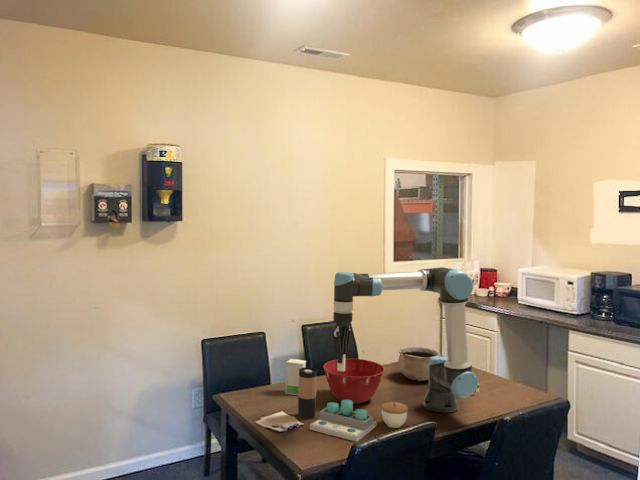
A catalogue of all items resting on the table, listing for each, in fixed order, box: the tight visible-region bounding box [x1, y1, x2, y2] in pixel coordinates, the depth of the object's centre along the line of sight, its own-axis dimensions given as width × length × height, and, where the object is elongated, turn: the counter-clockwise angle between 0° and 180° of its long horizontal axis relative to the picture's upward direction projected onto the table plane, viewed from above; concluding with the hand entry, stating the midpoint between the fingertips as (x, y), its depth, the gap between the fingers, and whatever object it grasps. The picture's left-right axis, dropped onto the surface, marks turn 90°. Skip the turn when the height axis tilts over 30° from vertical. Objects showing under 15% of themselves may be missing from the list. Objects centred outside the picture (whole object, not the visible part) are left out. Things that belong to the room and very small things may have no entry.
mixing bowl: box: [322, 358, 385, 405], centre depth 249 cm, size 28×28×16 cm
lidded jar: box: [381, 401, 408, 429], centre depth 220 cm, size 11×11×9 cm
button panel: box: [309, 406, 377, 443], centre depth 215 cm, size 21×18×5 cm
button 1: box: [354, 408, 368, 421], centre depth 214 cm, size 5×5×5 cm
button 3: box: [326, 401, 340, 414], centre depth 221 cm, size 5×5×5 cm
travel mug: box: [297, 366, 318, 420], centre depth 227 cm, size 8×8×20 cm
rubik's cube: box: [473, 383, 481, 393], centre depth 262 cm, size 6×6×6 cm
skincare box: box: [284, 358, 307, 396], centre depth 256 cm, size 8×7×16 cm
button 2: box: [340, 400, 354, 416], centre depth 217 cm, size 5×5×5 cm
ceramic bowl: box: [397, 346, 441, 382], centre depth 283 cm, size 22×22×15 cm
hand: (341, 370), depth 211 cm, fingers closed
